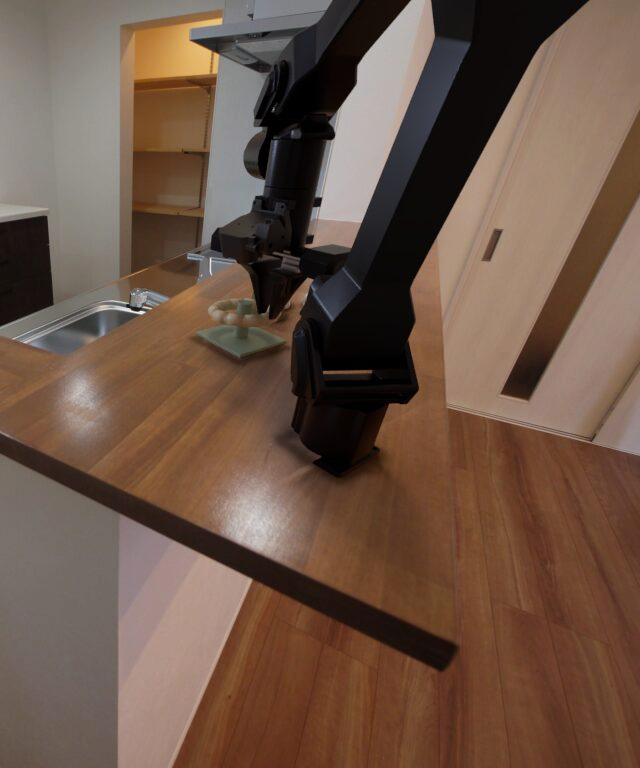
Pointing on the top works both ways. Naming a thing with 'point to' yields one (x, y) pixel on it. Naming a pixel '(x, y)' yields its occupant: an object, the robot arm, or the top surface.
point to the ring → (237, 319)
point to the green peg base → (241, 335)
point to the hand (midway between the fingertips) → (266, 317)
